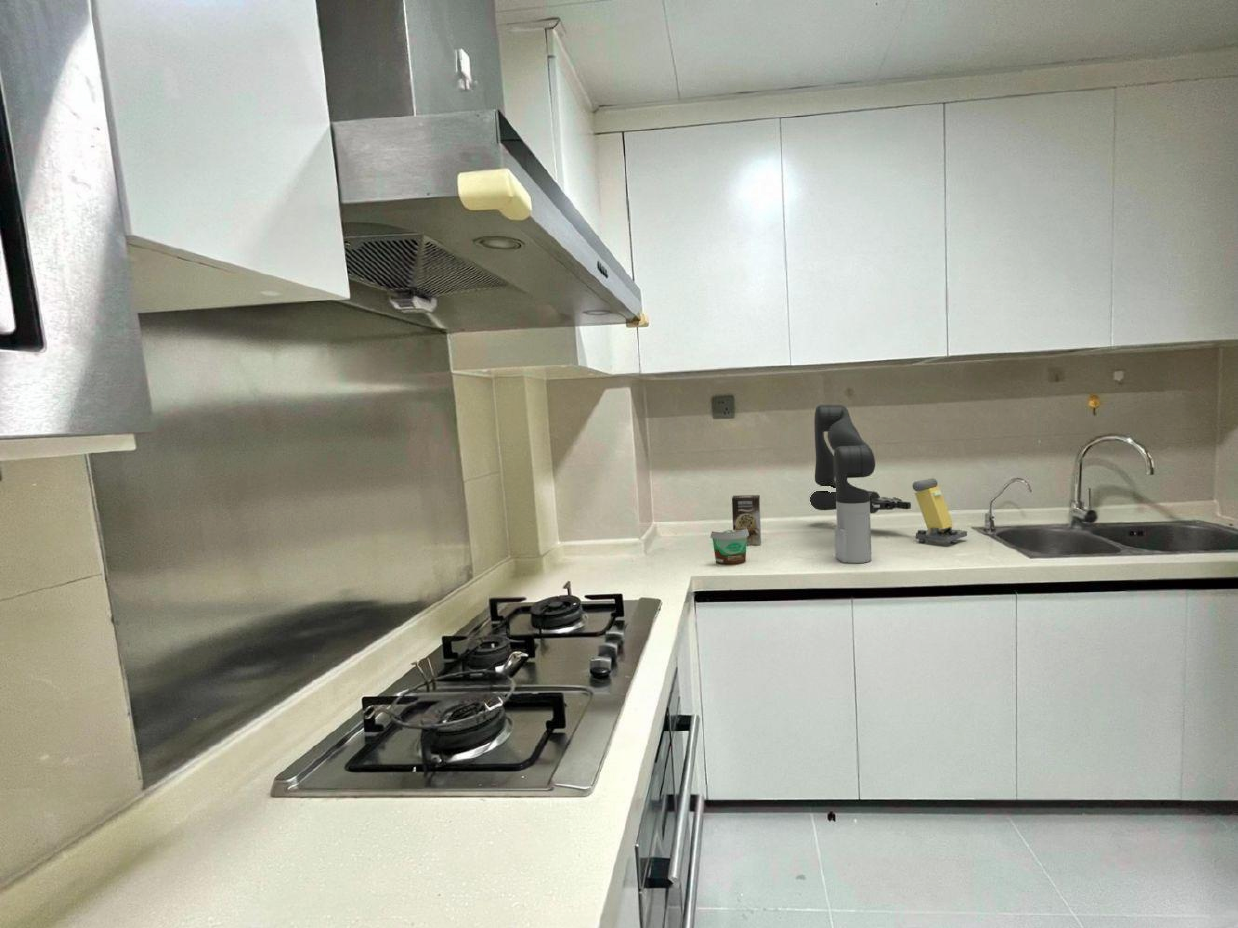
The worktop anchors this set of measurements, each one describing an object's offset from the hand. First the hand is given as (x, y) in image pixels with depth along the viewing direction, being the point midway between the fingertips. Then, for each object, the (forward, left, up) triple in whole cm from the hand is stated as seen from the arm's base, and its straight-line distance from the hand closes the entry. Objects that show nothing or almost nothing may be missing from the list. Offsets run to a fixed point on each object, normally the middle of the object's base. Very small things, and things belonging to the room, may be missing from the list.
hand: (909, 505), depth 216 cm
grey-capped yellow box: (+6, -8, -7) cm, 12 cm away
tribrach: (+6, -8, -11) cm, 15 cm away
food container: (-61, -18, -11) cm, 65 cm away
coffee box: (-52, +7, -11) cm, 54 cm away
